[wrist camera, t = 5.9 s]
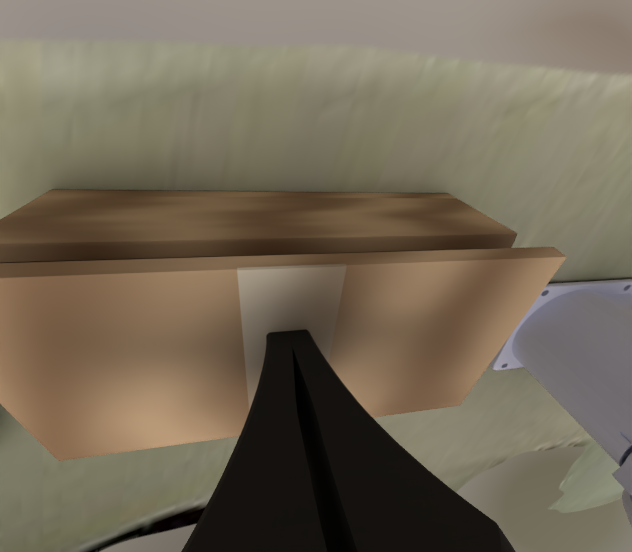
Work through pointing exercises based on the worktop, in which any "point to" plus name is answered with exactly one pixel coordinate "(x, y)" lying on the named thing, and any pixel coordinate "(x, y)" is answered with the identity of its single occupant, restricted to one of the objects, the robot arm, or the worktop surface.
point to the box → (239, 225)
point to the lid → (246, 336)
